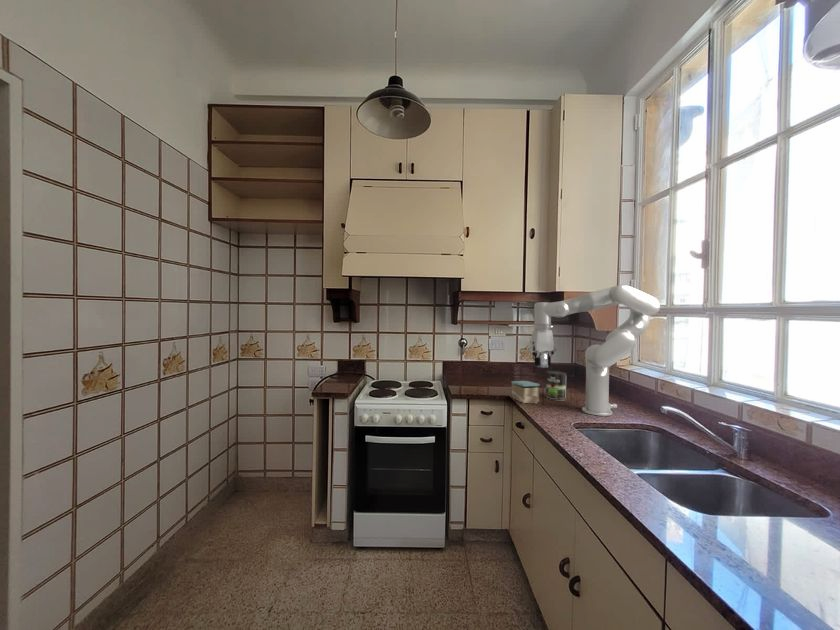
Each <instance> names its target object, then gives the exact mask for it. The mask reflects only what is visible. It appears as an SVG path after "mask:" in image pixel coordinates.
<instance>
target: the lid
mask: <svg viewBox="0 0 840 630" xmlns="http://www.w3.org/2000/svg"><path fill="white" fill-rule="evenodd" d="M512 384H516V385H519V386H523V387H526V386H536V387H539V386H541V385H540V384H541V383H538V382H533V381H530V380H516V381H515V380H513V381H512V380H511V385H512Z"/></svg>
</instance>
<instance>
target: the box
mask: <svg viewBox="0 0 840 630" xmlns="http://www.w3.org/2000/svg"><path fill="white" fill-rule="evenodd" d="M512 397H514V398H515V399H517V400H519V401H521V402H523V403H535V404H538V403H537V402H539V403H540V387H539V386H526V387H523V386H519V385H516V384H512V383H511V398H512Z"/></svg>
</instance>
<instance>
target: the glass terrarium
mask: <svg viewBox="0 0 840 630" xmlns="http://www.w3.org/2000/svg"><path fill="white" fill-rule="evenodd" d="M545 374H546V380H545V381H546V382H545V383H546V386H545V388H546V391H545V394H546V395H545V396H547V397H549V398H553V399H564V398H566V399H567V373H566V372H564V371H559V370H547V371H546V372H545Z"/></svg>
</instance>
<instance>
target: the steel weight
mask: <svg viewBox="0 0 840 630" xmlns="http://www.w3.org/2000/svg"><path fill="white" fill-rule="evenodd" d="M539 358H540V366H536V367H537V368H540V369H541V368H543V369H546V368H549V365H548V353H547V352H545V351H540V354H539Z"/></svg>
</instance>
